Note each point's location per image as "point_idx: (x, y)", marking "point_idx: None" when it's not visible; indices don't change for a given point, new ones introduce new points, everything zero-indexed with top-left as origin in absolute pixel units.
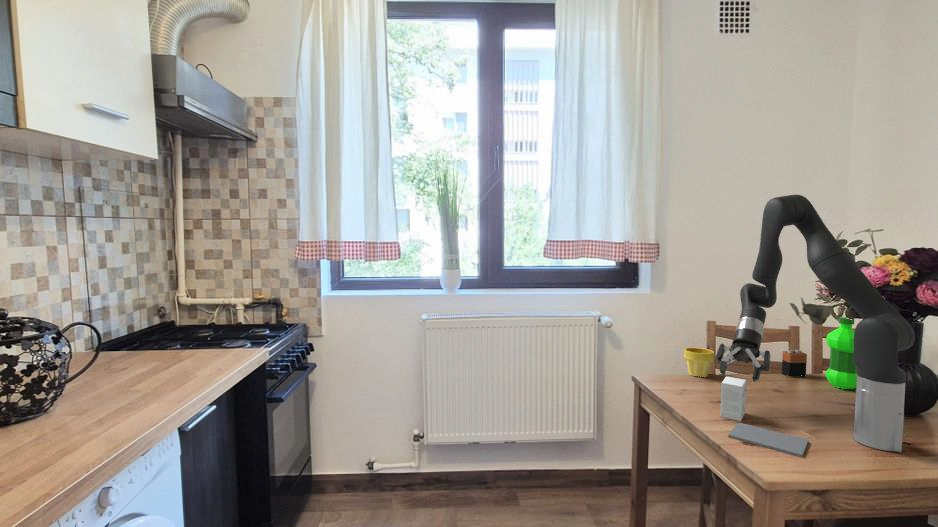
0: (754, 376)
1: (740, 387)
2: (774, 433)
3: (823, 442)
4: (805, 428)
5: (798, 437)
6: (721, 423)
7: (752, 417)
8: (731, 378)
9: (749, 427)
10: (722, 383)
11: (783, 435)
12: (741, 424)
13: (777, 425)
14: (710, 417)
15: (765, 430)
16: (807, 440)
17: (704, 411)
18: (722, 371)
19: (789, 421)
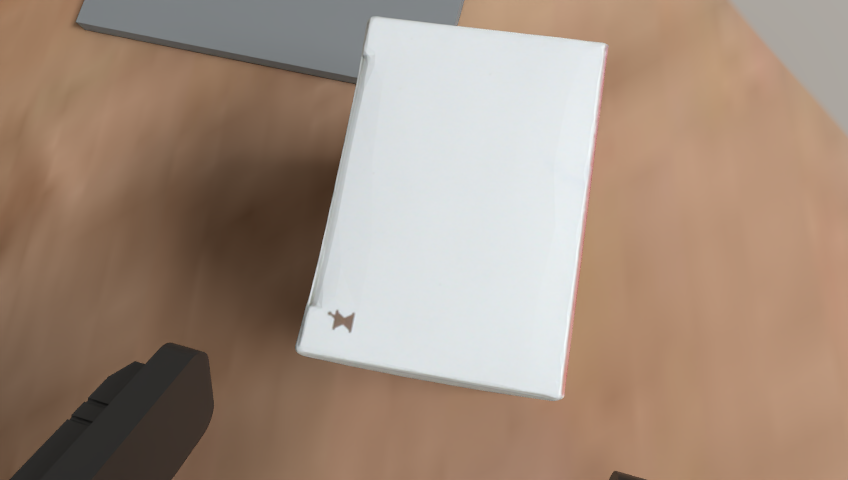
0: (166, 356)
1: (391, 19)
2: (240, 17)
3: (6, 72)
4: (36, 257)
5: (119, 31)
6: None
7: None
8: (487, 307)
9: None
10: (594, 42)
11: (195, 13)
12: None
13: (196, 220)
14: (622, 136)
15: (284, 39)
16: (83, 10)
17: (677, 245)
18: (633, 476)
19: (101, 348)
